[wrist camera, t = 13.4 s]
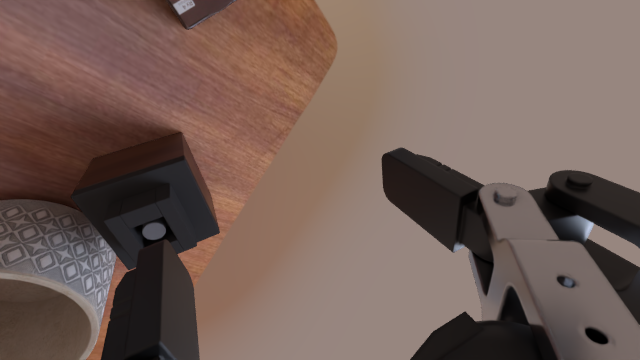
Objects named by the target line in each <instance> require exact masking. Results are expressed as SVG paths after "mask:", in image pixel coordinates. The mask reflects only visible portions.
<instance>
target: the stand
mask: <svg viewBox="0 0 640 360" xmlns="http://www.w3.org/2000/svg"><path fill="white" fill-rule="evenodd" d="M181 156H185V158H186V160H187V162H188V164H189V166H190V169H191V171H192V173H193V175H194V177H195V179H196V181H197V183H198V185H199V187H200V189H201V192H202V194H203V196H204V198H205V200H206V202H207V204H208V206H209V208H210V210H211V212H212V215H213V217H214V219H215V221H216V223H217V218H216V214H215V210H214V205H213V201H212V197H211V194H210V192H209V190H208V188H207V185H206V183H205V181H204V179H203V177H202V174H201V172H200V170H199V168H198V166H197V164H196V161H195V159H194V157H193V155H192V153H191V151H190V148H189V146H188V144H187V142H186V140H185V138H184V135H183V133H182V132H180V133H176V134H173V135H170V136H166V137H163V138H160V139H156V140H153V141H150V142H146V143H143V144H140V145H136V146H133V147H130V148H126V149H123V150H120V151H116V152H113V153H110V154H106V155H103V156H100V157H96V158H93V159H92V161H91V163H90V164H89V166H88V168H87V170H86V171H85V173H84V175H83V176H82V178H81V180H80V182H79V183H78V185H77V187H76V188H75V190H74V191H76V190H79V189H82V188H85V187H88V186H91V185H94V184H97V183H100V182H103V181H107V180H110V179H113V178H116V177H119V176H122V175H125V174H128V173H131V172H135V171H138V170H141V169H144V168H147V167H150V166H153V165H156V164H159V163H162V162H166V161H169V160H172V159H175V158H178V157H181ZM217 225H218V223H217Z"/></svg>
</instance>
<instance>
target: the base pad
mask: <svg viewBox="0 0 640 360" xmlns="http://www.w3.org/2000/svg"><path fill="white" fill-rule="evenodd" d="M169 183H170V184H171V186H172V188H173V190H174V192H175V193H176V195H177V197H178V199H179V201H180V203H181V205H182V206H183V208H184V210H185V212H186V214H187V216H188V217H189V219H190V221H191V223H192V225H193V227H194V229H195V233H196V242H199V241H202V240H204V239H206V238H209V237H211V236H214V235H216V234H219V233H220V231H219V227H218V225H217V223H216V221H215V219H214V217H213V215H212V212H211V210H210V208H209V206H208V204H207V202H206V200H205V198H204V196H203V194H202V192H201V189H200V187H199V185H198V183H197V181H196V179H195V177H194V175H193V173H192V171H191V169H190V166H189V164H188V162H187V160H186V158H185V156H181V157H178V158H175V159H172V160H169V161H166V162H162V163H159V164H156V165H153V166H150V167H147V168H144V169H141V170H138V171H135V172H131V173H128V174H125V175H122V176H119V177H116V178H113V179H110V180H107V181H103V182H100V183H97V184H94V185H91V186H88V187H85V188H82V189H79V190H76V191H74V192H73V194H72V195H71V198H72V199H73V201H74V202H75V203H76V204H77V206H78V207H79V208H80V209H81V211H82V212H83V213H84V215H85V216H86V217H87V218H88V220H89V221H90V222H91V223H92V225H93V226H94V227H95V228H96V230H97V231H98V232H99V233H100V235H101V236H102V237H103V239H104V240H105V241H106V242H107V244H108V245H109V246H110V247H111V249H112V250H113V251H114V252H115V254H116V255H117V256H118V257H119V259H120V260H121V261H122V262H123V264H124V265H125V266H126V268H127V269H128V270H130V269H133V268H135V267H136V266H137V265H136V264H135V263H134V261H133V260H132V259H131V257H130V256H129V255H128V253H127V252H126V251H125V249H124V248H123V247H122V245H121V244H120V243H119V241H118V240H117V239H116V237H115V236H114V235H113V234H112V232H111V231H110V230H109V228H108V227H107V226H106V224H105V223H104V222H103V220H104V217H105V214H106V211H107V208H108V206H109V204H111V203H113V202H116V201H119V200H122V199H123V200H124V199H125V198H128V197H131V196H134V195H137V194H140V193H143V192H146V191H149V190H152V189H154V188H156V189H157V187H160V186H163V185H166V184H169ZM141 226H142V234H143V236H144V237H145V238H147V239H150V240H156V239H159V238H161V237H163V236H164V235H165V233H166V227H168V226H169V225H168V223H167V221H166V220H165V218H164V216H163V217H160V218H158V219H155V220H152V221H150V222H147V223H144V224H142V225H141Z"/></svg>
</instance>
